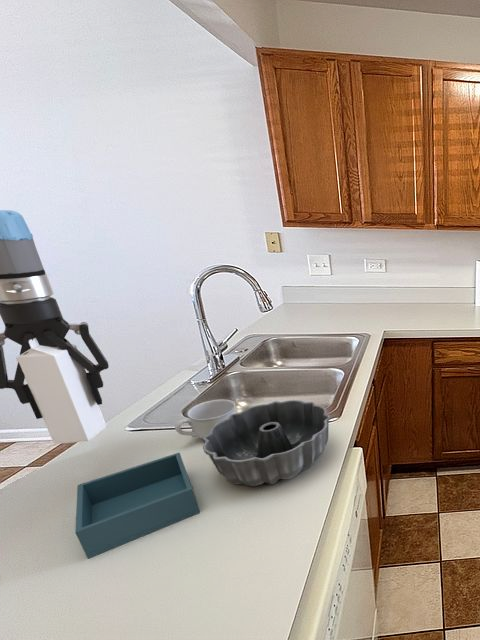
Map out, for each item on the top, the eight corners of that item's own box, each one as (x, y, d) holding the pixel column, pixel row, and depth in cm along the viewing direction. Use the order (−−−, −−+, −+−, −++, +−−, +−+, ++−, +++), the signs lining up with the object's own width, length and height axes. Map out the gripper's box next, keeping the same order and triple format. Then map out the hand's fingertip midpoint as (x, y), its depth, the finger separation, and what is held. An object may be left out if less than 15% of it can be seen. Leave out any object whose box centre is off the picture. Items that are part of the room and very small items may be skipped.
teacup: (235, 419, 114) (228, 395, 111) (246, 434, 107) (240, 408, 104) (176, 438, 105) (168, 411, 102) (184, 455, 98) (175, 427, 95)
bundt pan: (306, 501, 83) (299, 461, 79) (184, 498, 84) (171, 458, 80) (349, 433, 107) (345, 400, 104) (254, 431, 108) (247, 399, 105)
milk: (107, 426, 87) (72, 330, 79) (88, 441, 81) (48, 339, 73) (74, 429, 85) (35, 331, 77) (52, 445, 80) (8, 341, 72)
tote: (88, 508, 81) (77, 484, 78) (186, 474, 91) (179, 452, 89) (87, 558, 69) (75, 532, 67) (200, 512, 80) (192, 488, 77)
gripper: (-72, 312, 64) (-10, 434, 72) (102, 295, 77) (137, 399, 85) (-60, 304, 69) (-4, 418, 77) (101, 289, 82) (135, 388, 90)
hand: (70, 408), depth 81 cm, fingers closed on milk, 8 cm apart
